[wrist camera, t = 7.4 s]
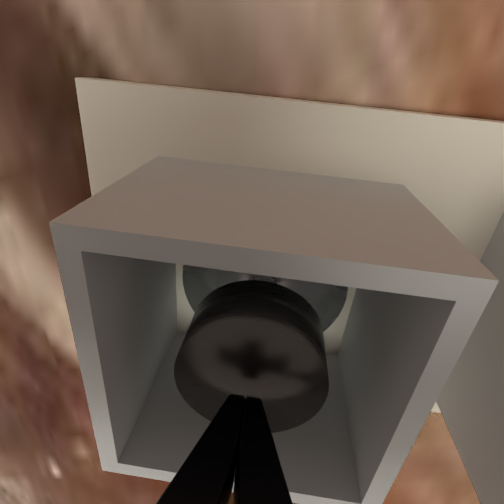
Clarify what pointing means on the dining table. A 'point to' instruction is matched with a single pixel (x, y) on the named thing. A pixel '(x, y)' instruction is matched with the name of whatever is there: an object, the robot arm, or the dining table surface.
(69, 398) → the dining table surface
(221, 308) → the plunger
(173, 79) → the dining table surface
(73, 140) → the dining table surface
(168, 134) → the board
